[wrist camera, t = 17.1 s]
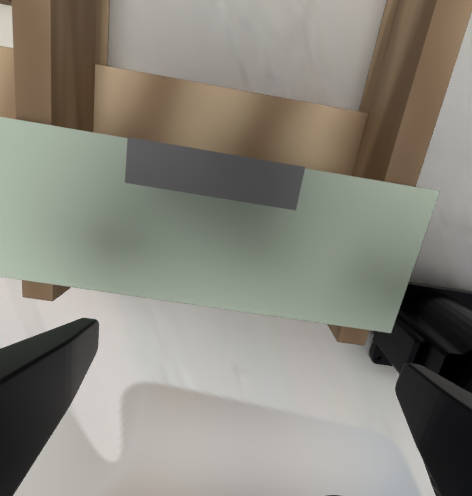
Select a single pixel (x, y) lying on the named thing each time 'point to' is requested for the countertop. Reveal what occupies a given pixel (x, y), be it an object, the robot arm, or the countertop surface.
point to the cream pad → (6, 26)
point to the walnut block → (6, 2)
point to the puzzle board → (236, 99)
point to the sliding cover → (205, 227)
